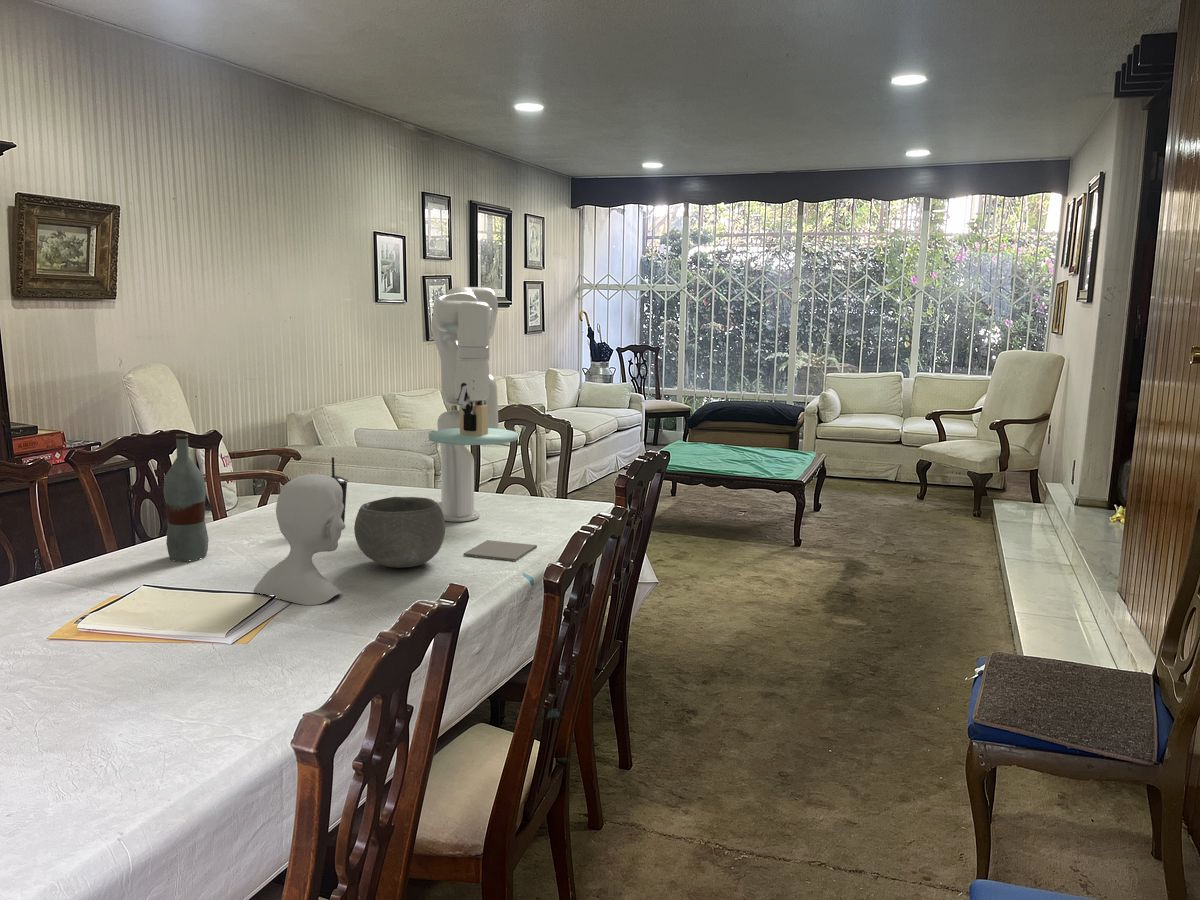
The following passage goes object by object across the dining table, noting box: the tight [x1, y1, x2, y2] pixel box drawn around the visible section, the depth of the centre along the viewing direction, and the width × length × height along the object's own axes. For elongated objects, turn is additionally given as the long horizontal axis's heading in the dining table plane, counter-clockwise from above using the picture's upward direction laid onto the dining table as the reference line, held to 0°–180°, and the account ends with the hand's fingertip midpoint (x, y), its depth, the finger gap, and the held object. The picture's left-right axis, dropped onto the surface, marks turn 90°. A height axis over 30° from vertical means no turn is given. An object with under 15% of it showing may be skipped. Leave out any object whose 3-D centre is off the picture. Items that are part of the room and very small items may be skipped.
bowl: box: [354, 496, 446, 569], centre depth 210 cm, size 21×21×15 cm
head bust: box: [253, 473, 346, 606], centre depth 191 cm, size 22×19×25 cm
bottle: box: [162, 433, 209, 562], centre depth 212 cm, size 9×9×30 cm
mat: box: [463, 539, 538, 562], centre depth 224 cm, size 14×14×1 cm
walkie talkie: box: [329, 456, 349, 524], centre depth 243 cm, size 8×8×20 cm
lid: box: [428, 404, 519, 446], centre depth 216 cm, size 22×22×8 cm
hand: (473, 428), depth 216 cm, fingers closed on lid, 3 cm apart
